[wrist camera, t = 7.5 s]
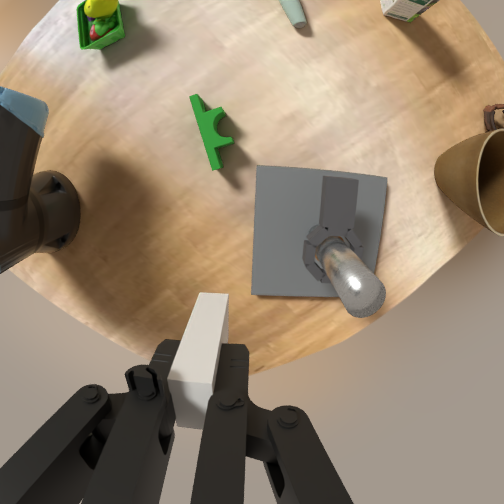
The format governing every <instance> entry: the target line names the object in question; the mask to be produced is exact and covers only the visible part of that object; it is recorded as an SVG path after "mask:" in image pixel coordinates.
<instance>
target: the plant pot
mask: <svg viewBox="0 0 504 504" xmlns="http://www.w3.org/2000/svg"><path fill="white" fill-rule="evenodd" d="M434 175H435V180H436V183H437V185H438V187H439V188H440V189H441V190H442V191H443V192H444V194H445V195H446V196H447V197H448V198H449V199H450V200H451V201H452V202H453V203H455V204H456V205H457V206H458V207H459V208H460V209H461V210H463V211H464V212H465V213H466V214H468V215H469V216H470V217H472V218H473V219H474V220H476V221H477V222H478V223H480V224H481V225H483V226H484V227H486V228H487V229H489V230H490V231H492V232H493V233H495V234H497V235H499V236H503V237H504V129H498V130H493V131H490V132H486V133H483V134H479V135H476V136H473V137H471V138H469V139H466V140H464V141H462V142H460V143H458V144H456V145H455V146H453V147H451V148H450V149H448V150H447V151H446V152H444V153H443V154H442V155H441V156H440V157H439V158H438V159H437V161H436V164H435V168H434Z"/></svg>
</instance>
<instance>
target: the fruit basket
mask: <svg viewBox="0 0 504 504" xmlns="http://www.w3.org/2000/svg"><path fill="white" fill-rule="evenodd" d="M77 21H78V32H79V42H80V48H81V49H102V48H104V47H105V46H108V45H110V44H112V43H114V42H116V41H117V40H119V39H121V38H124V37H125V33H124V29H123V22H122V19H121V12H120V5H119V2H118V0H85V1H84V2H82V3H81V4H79V5H78V7H77Z"/></svg>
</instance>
